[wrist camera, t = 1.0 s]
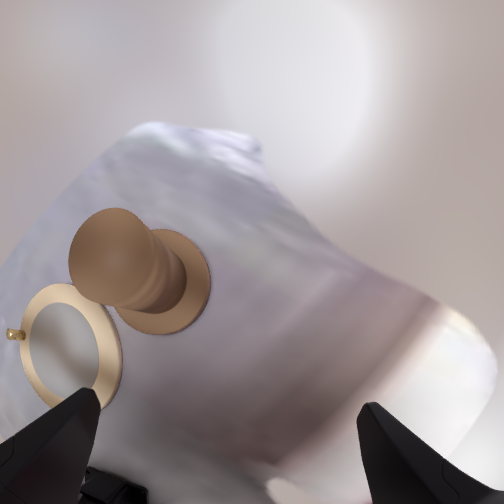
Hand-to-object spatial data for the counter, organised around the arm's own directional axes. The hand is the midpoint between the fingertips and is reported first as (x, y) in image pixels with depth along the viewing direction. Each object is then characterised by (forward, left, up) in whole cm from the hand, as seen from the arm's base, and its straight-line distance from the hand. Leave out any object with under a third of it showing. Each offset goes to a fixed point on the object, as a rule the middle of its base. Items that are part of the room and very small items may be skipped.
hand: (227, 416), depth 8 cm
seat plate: (-2, +16, -12) cm, 20 cm away
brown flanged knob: (+5, +7, -12) cm, 15 cm away
